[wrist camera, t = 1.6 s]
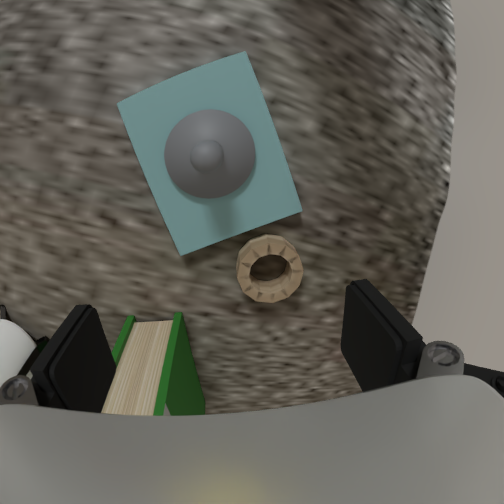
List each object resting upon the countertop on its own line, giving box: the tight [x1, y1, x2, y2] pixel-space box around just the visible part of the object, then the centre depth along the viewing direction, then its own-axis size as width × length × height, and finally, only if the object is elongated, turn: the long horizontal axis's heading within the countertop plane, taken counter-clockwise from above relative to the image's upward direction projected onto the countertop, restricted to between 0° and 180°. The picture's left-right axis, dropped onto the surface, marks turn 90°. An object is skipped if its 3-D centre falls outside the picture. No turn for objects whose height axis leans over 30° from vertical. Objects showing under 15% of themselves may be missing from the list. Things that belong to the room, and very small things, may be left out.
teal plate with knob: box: [117, 51, 302, 256], centre depth 27 cm, size 14×18×8 cm
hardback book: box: [101, 312, 205, 416], centre depth 29 cm, size 18×7×24 cm, turn 4°
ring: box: [236, 234, 304, 303], centre depth 34 cm, size 7×7×3 cm
